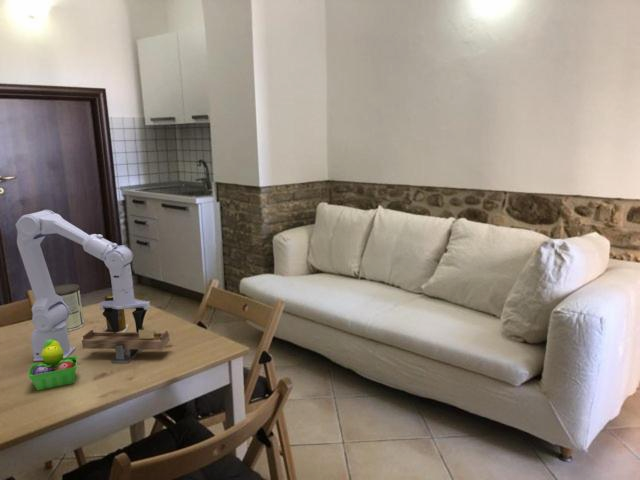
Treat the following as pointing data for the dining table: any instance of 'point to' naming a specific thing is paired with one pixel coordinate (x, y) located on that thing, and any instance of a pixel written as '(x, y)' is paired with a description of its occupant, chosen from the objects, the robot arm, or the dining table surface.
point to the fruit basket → (53, 367)
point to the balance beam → (122, 340)
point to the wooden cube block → (149, 332)
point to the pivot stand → (124, 354)
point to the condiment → (121, 318)
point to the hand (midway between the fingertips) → (127, 331)
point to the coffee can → (71, 304)
